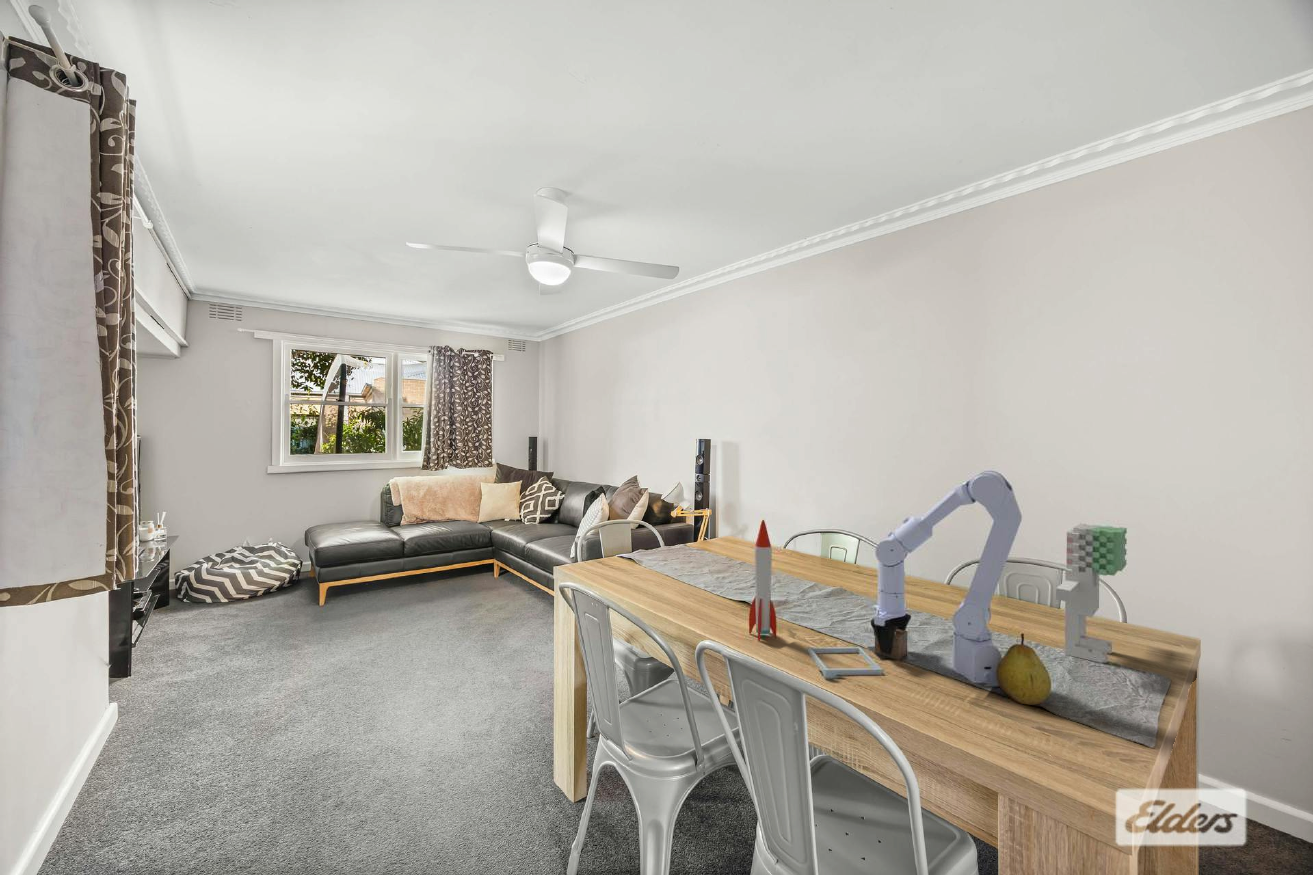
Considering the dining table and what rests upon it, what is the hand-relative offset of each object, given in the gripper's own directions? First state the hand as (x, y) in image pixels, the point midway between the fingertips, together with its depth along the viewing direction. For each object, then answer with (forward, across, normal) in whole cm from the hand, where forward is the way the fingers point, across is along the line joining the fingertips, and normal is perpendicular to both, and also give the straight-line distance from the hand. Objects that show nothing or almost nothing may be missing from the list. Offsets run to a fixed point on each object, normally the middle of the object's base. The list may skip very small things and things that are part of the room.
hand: (891, 648), depth 127 cm
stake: (+2, 0, 0) cm, 2 cm away
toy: (+2, -35, +34) cm, 49 cm away
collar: (+1, 0, 0) cm, 1 cm away
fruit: (+2, +2, +26) cm, 27 cm away
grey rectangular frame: (+2, +13, -6) cm, 14 cm away
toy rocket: (+2, +9, -29) cm, 31 cm away
